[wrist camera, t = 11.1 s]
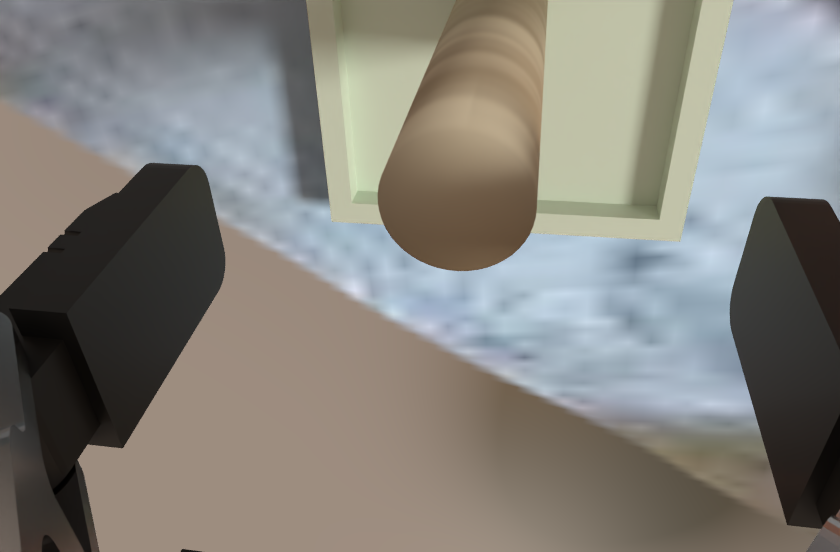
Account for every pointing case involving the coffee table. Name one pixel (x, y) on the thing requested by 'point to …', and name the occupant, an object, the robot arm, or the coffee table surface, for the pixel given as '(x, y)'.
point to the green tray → (561, 109)
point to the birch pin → (471, 140)
